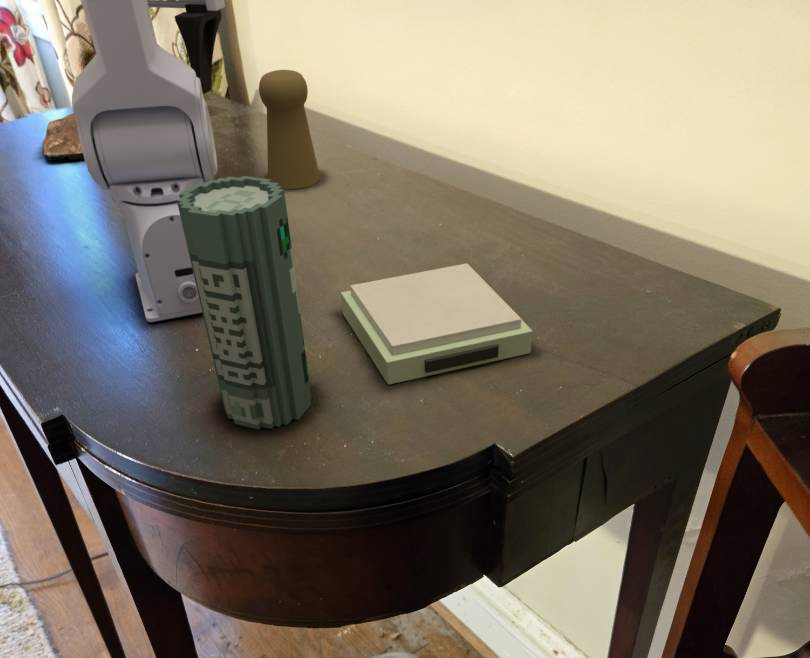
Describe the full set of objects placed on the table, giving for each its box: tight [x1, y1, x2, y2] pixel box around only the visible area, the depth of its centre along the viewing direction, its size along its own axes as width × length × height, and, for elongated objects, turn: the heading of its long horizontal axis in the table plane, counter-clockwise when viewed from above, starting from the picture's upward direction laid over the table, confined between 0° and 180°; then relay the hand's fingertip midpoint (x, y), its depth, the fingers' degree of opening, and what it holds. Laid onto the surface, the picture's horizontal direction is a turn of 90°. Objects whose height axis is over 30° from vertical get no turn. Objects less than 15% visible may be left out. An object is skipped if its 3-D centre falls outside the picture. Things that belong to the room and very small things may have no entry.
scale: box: [340, 262, 534, 386], centre depth 63 cm, size 12×12×3 cm
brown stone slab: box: [41, 112, 85, 161], centre depth 99 cm, size 12×13×4 cm
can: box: [177, 175, 312, 430], centre depth 52 cm, size 6×6×15 cm
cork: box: [258, 69, 321, 190], centre depth 86 cm, size 6×6×11 cm
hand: (171, 90), depth 81 cm, fingers open, 7 cm apart
